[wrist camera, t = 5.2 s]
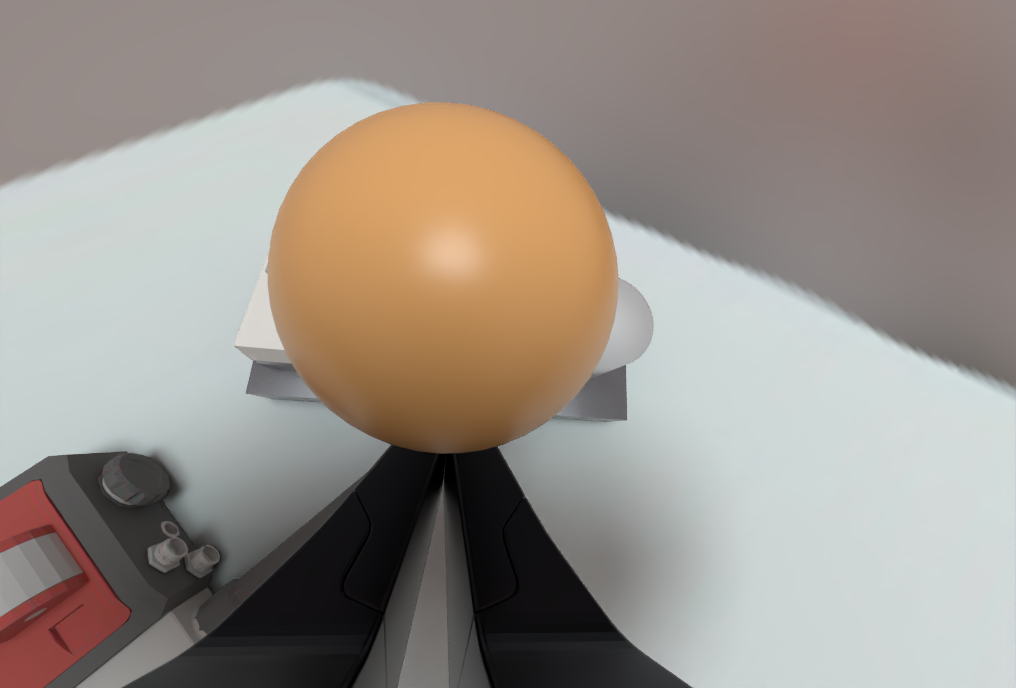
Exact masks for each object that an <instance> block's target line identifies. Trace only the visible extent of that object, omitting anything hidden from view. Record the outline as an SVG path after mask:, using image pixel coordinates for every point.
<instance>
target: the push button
mask: <svg viewBox="0 0 1016 688" xmlns="http://www.w3.org/2000/svg"><path fill="white" fill-rule="evenodd" d="M618 279H619V280H618V302H617V308H616V314H615V320H614V324H613V328H612V331H611V334H610V338H609V341H608V344H607V346H606V348H605V350H604V353H603V355H602V357H601V360H600V362H599V363H598V365H597V367H596V368H595V370H594V372H593V373H592V375H591V377H590V378H594V377H596V376H599V375H601V374H604V373H606V372H609V371H611V370H614V369H616V368H619V367H621V366H624V365H626V364H629V363H631V362H633V361H635V360H636V359H638V358H639V357H640V356H641V355H642V354H643V353H644V352H645V351H646V349H647V348H648V346H649V344H650V342H651V339H652V335H653V317H652V313H651V310H650V307H649V305H648V303H647V301H646V300H645V298H644V297H643V295H642V294H641V293H640V292H639V291H638V290H637V289H636V288H635V287H634V286H632V285H631V284H630V283H628V282H626V281H624V280H622V279H620V278H618ZM590 378H589V379H590Z"/></svg>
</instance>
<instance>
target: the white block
mask: <svg viewBox="0 0 1016 688" xmlns="http://www.w3.org/2000/svg"><path fill="white" fill-rule="evenodd" d="M269 249H270V248H269ZM268 255H269V251H268V254H267V256H266V259H265V262H264V264H263V267H262V270H261V272H260V275H259V278H258V281H257V283H256V286H255V289H254V291H253V294H252V297H251V299H250V302H249V305H248V307H247V310H246V313H245V315H244V318H243V321H242V323H241V326H240V329H239V332H238V334H237V337H236V340H235V342H234V345H233V346H234V347H236V348H237V349H238V350H240V351H241V352H242V353H243V354H245V355H246V356H247V357H249V358H250V359H251V360H255V361H267V362H280V363H291V361H290V360H289V358H288V356H287V355H286V352H285V350H284V348H283V345H282V343H281V341H280V338H279V336H278V333H277V331H276V327H275V323H274V320H273V316H272V312H271V308H270V300H269V292H268V284H267V283H268Z"/></svg>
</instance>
